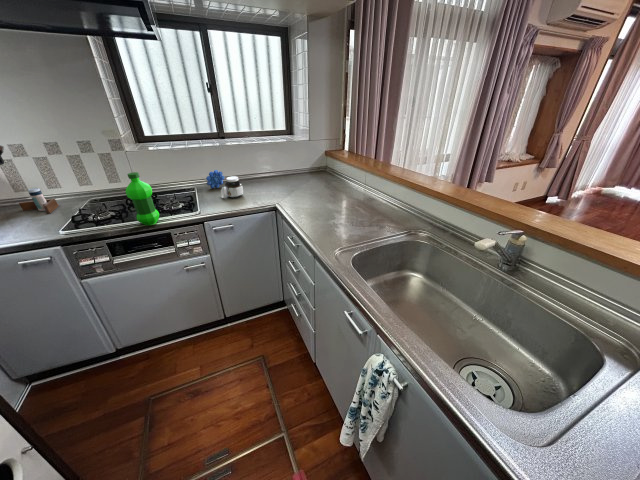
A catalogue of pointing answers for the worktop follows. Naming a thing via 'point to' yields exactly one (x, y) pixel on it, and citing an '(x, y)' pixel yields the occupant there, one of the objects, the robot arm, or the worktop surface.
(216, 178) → the blue knobbly toy
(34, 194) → the white pill bottle
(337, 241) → the worktop surface
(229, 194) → the spread jar
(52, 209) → the corner rack
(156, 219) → the plastic bottle
